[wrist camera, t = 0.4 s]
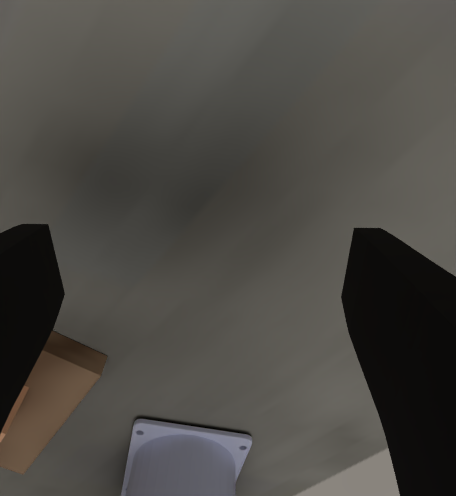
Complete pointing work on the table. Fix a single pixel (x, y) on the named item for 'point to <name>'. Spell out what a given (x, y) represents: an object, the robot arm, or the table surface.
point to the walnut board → (49, 398)
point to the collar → (13, 412)
